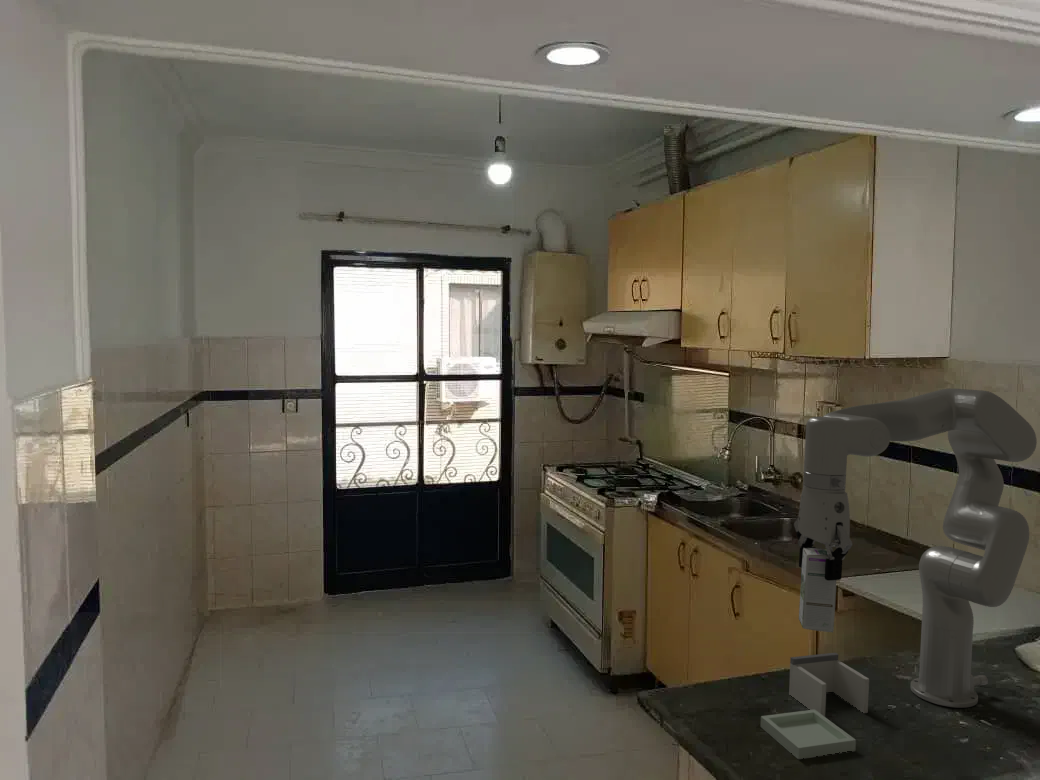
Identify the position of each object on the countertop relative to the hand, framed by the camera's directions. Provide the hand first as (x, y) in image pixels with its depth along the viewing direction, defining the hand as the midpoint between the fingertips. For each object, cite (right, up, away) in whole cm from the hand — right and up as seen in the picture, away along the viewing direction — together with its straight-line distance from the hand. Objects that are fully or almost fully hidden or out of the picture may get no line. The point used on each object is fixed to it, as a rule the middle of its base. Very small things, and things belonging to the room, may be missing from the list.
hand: (819, 572), depth 148 cm
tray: (-4, -30, -3) cm, 31 cm away
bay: (+6, -30, +11) cm, 32 cm away
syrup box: (-1, -11, 0) cm, 11 cm away
